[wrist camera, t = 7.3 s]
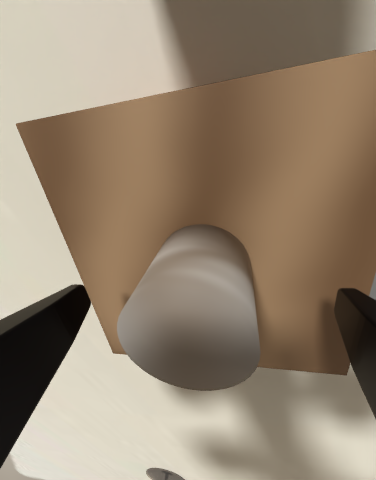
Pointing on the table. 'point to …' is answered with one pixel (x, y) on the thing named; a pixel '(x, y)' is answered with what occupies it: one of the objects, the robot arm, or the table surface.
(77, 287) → the robot arm
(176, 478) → the wine glass
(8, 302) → the table surface
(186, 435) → the table surface
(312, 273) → the lid
